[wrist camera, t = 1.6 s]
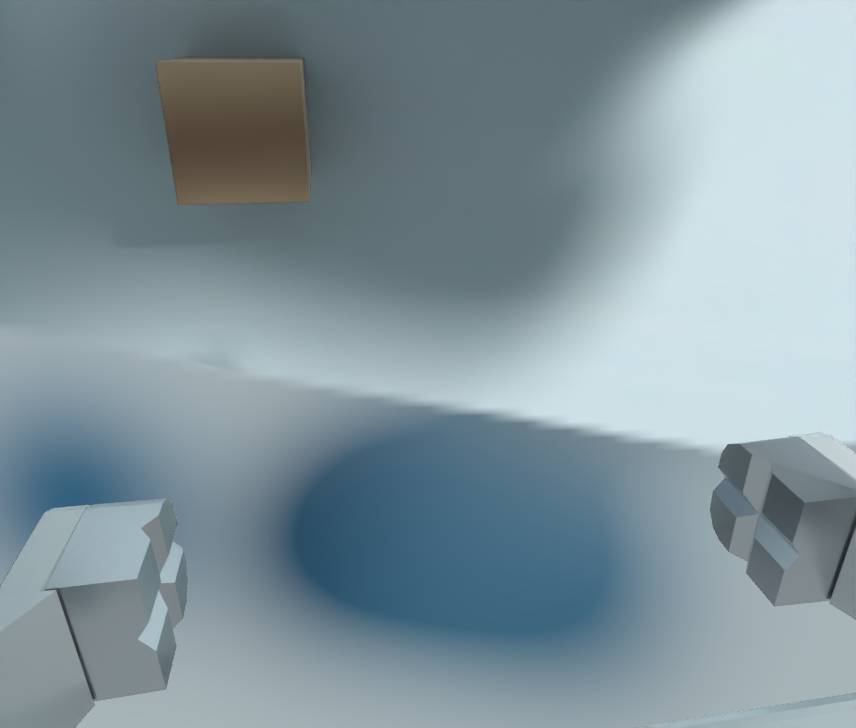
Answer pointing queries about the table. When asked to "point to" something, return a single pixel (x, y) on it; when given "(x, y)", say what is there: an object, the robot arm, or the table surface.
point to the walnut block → (236, 129)
